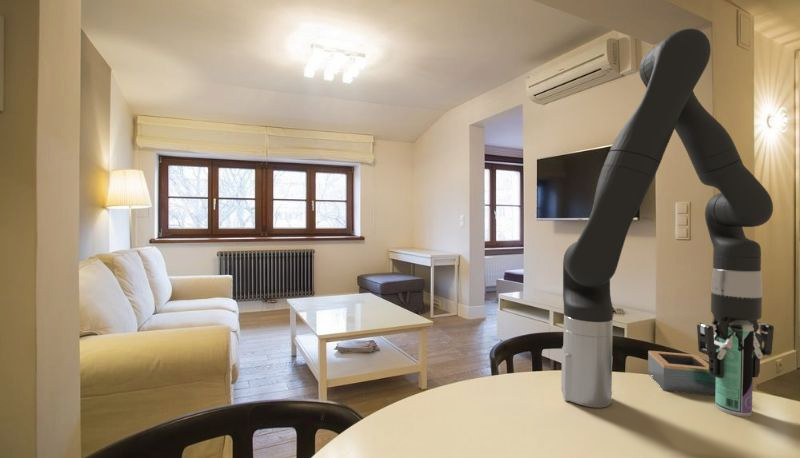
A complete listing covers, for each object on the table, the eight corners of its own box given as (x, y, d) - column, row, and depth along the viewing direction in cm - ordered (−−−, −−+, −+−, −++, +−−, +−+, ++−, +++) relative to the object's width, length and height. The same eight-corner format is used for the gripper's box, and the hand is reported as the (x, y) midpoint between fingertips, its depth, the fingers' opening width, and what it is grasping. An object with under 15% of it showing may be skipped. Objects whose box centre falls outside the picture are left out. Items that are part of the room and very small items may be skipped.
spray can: (759, 418, 72) (761, 313, 72) (726, 415, 73) (728, 311, 73) (739, 404, 78) (741, 307, 77) (709, 402, 79) (711, 305, 78)
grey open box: (663, 390, 84) (663, 365, 84) (647, 373, 94) (648, 350, 94) (717, 396, 81) (718, 370, 81) (695, 378, 91) (696, 354, 91)
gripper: (718, 296, 71) (716, 385, 71) (790, 295, 72) (788, 383, 72) (685, 289, 78) (684, 369, 79) (751, 288, 79) (749, 368, 79)
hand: (734, 375), depth 75 cm, fingers open, 6 cm apart
